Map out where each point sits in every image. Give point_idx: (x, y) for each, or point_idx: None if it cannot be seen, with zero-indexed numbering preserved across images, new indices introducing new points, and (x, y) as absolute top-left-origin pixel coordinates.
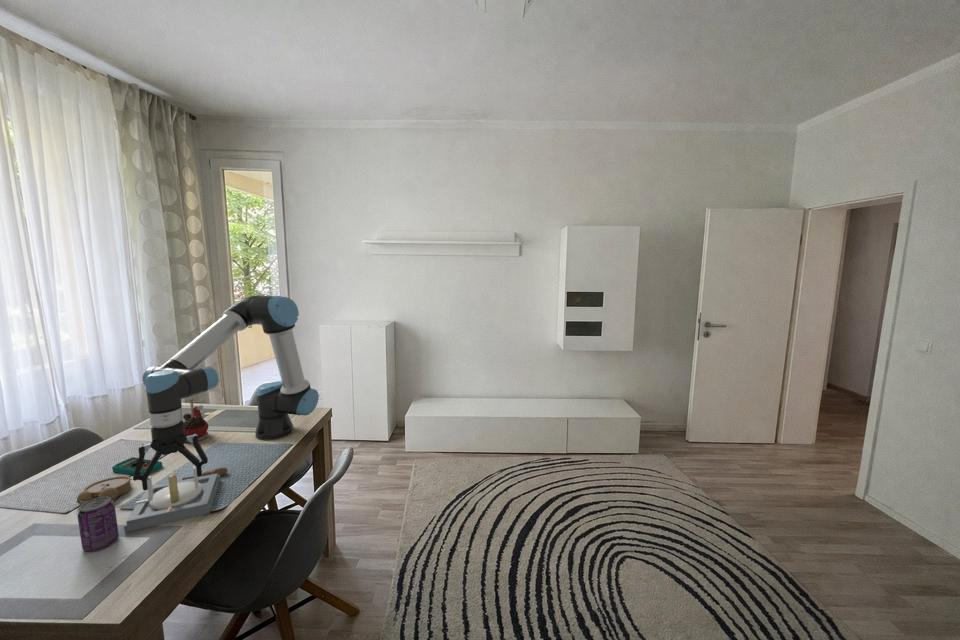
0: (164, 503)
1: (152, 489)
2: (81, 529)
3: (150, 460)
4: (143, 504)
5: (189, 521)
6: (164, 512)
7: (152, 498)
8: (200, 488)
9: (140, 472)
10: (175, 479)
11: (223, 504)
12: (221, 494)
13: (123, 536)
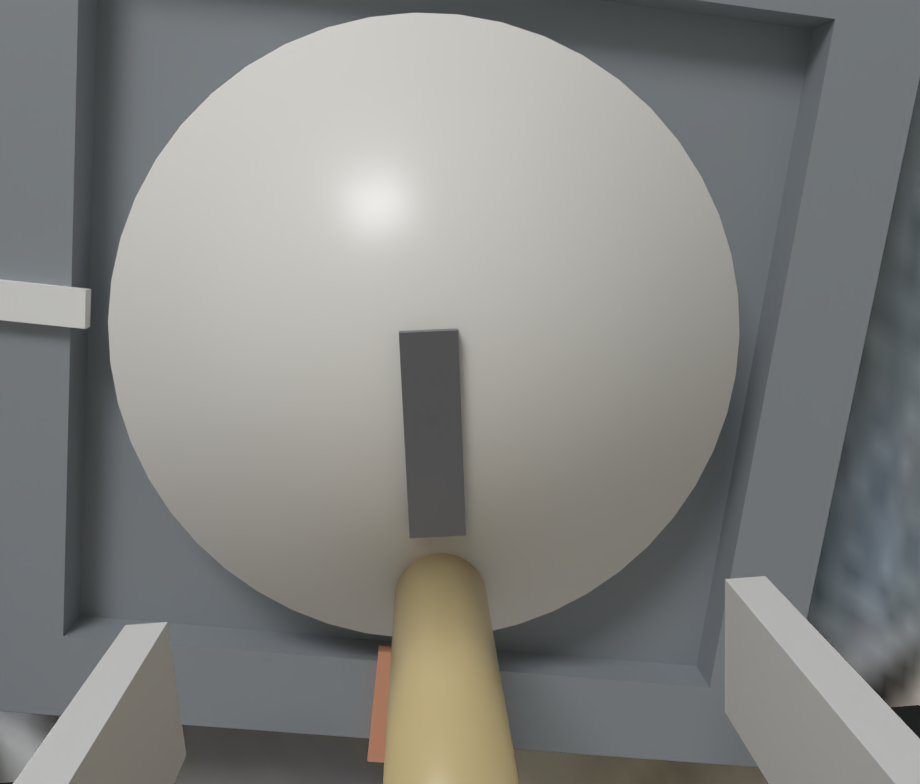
0: (321, 575)
1: (130, 719)
2: None
3: None
4: (57, 389)
5: (572, 768)
6: (348, 727)
7: (178, 765)
8: (724, 395)
9: None
10: None
11: (879, 616)
12: (879, 376)
13: (21, 723)
